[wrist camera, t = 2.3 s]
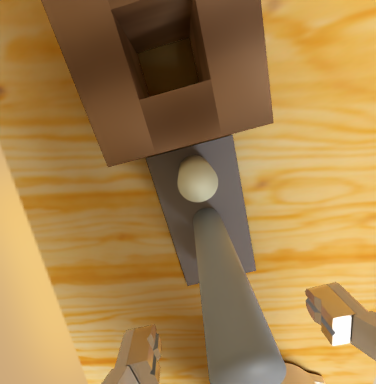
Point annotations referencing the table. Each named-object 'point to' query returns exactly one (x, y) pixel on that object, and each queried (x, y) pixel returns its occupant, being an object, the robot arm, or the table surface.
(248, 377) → the pin long
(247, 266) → the mat
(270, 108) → the socket block
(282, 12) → the table surface
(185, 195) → the pin short
